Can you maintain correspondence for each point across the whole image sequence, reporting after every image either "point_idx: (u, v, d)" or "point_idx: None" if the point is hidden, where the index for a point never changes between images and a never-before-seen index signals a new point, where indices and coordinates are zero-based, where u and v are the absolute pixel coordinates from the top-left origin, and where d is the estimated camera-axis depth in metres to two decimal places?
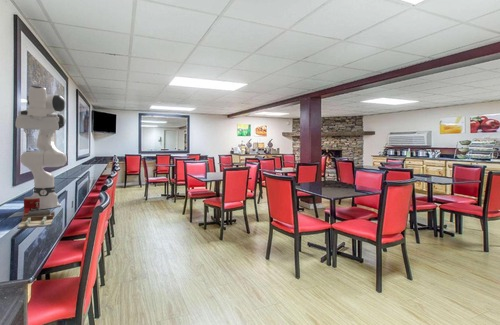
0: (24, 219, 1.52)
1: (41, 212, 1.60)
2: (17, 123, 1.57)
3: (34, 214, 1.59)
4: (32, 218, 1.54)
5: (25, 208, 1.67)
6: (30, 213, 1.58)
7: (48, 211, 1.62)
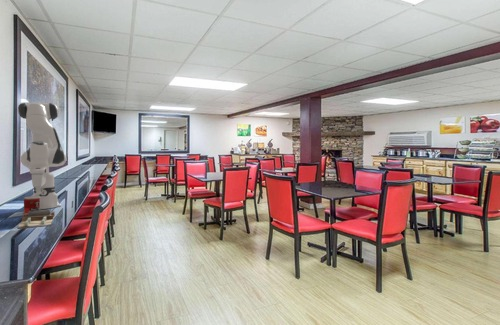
0: (24, 219, 1.52)
1: (41, 212, 1.60)
2: (41, 182, 1.53)
3: (34, 214, 1.59)
4: (32, 218, 1.54)
5: (25, 208, 1.67)
6: (30, 213, 1.58)
7: (48, 211, 1.62)
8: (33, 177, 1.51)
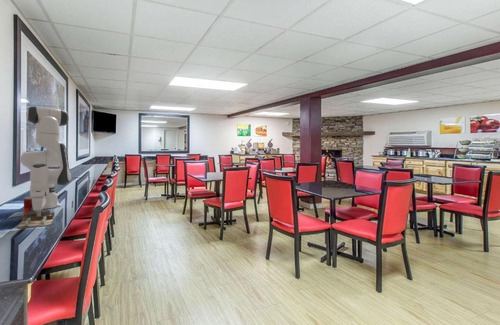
0: (24, 219, 1.52)
1: (41, 212, 1.60)
2: (41, 205, 1.54)
3: (34, 214, 1.59)
4: (32, 218, 1.54)
5: (25, 208, 1.67)
6: (30, 213, 1.58)
7: (48, 211, 1.62)
8: (33, 201, 1.52)
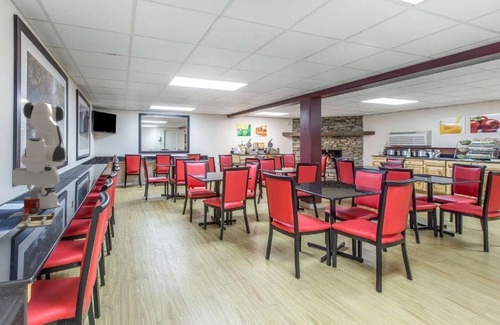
0: (24, 219, 1.52)
1: None
2: None
3: (39, 193, 1.50)
4: (32, 218, 1.54)
5: (25, 208, 1.67)
6: (38, 192, 1.48)
7: None
8: (56, 174, 1.52)
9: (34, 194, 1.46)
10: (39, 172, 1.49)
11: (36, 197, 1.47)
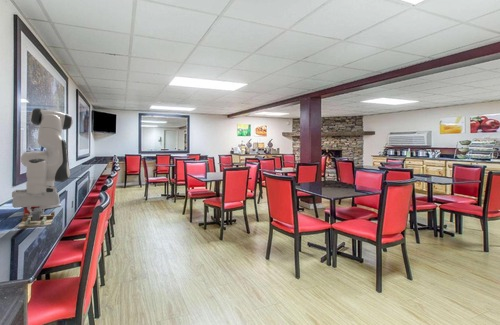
0: (24, 219, 1.52)
1: None
2: None
3: (39, 214, 1.49)
4: None
5: (25, 208, 1.67)
6: (39, 214, 1.47)
7: (41, 208, 1.54)
8: (57, 195, 1.53)
9: (36, 216, 1.46)
10: (40, 194, 1.48)
11: (38, 219, 1.47)
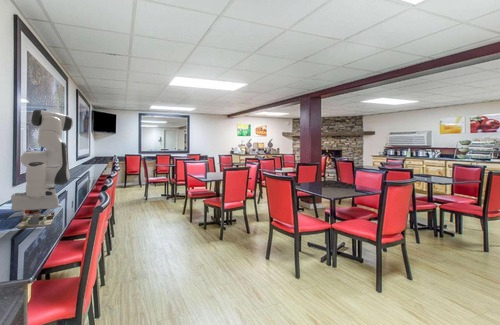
0: (24, 219, 1.52)
1: (40, 216, 1.52)
2: None
3: (39, 219, 1.50)
4: None
5: None
6: (38, 218, 1.48)
7: (40, 214, 1.55)
8: (57, 198, 1.53)
9: (35, 220, 1.46)
10: (40, 197, 1.48)
11: (37, 223, 1.47)
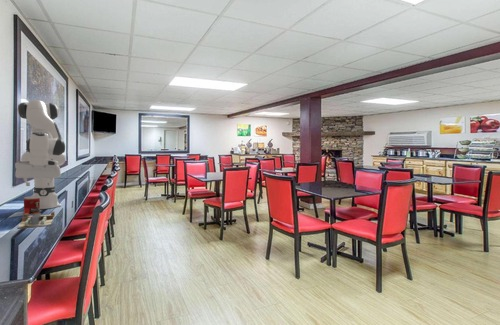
0: (24, 219, 1.52)
1: (40, 216, 1.52)
2: None
3: (39, 219, 1.50)
4: None
5: (25, 208, 1.67)
6: (38, 218, 1.48)
7: (40, 214, 1.55)
8: (59, 168, 1.58)
9: (35, 220, 1.46)
10: (42, 166, 1.54)
11: (37, 223, 1.47)
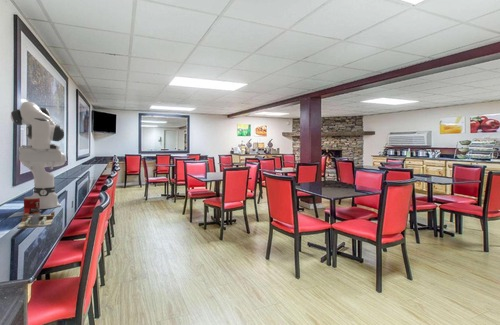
0: (24, 219, 1.52)
1: (40, 216, 1.52)
2: None
3: (39, 219, 1.50)
4: None
5: (25, 208, 1.67)
6: (38, 218, 1.48)
7: (40, 214, 1.55)
8: (60, 152, 1.65)
9: (35, 220, 1.46)
10: (44, 150, 1.61)
11: (37, 223, 1.47)
